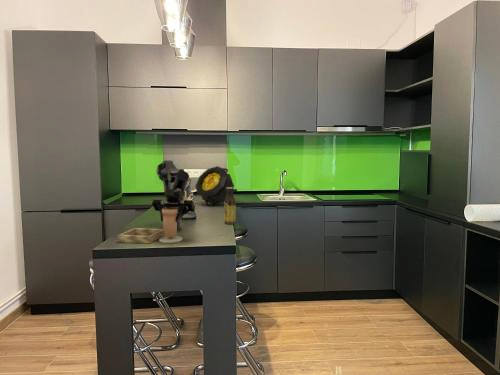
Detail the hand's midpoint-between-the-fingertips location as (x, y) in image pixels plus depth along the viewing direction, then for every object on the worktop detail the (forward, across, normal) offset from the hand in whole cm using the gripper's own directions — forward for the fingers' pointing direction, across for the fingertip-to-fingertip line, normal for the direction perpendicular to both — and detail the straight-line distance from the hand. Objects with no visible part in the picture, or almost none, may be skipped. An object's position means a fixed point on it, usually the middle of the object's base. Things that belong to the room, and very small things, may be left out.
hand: (168, 221), depth 156 cm
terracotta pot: (+4, 0, +6) cm, 7 cm away
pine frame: (+5, -14, +8) cm, 17 cm away
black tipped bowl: (-74, -7, +88) cm, 115 cm away
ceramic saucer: (+5, 0, +7) cm, 9 cm away
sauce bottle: (-24, +18, +37) cm, 48 cm away
